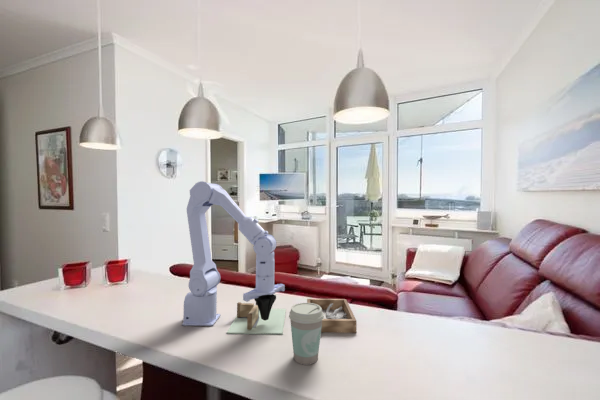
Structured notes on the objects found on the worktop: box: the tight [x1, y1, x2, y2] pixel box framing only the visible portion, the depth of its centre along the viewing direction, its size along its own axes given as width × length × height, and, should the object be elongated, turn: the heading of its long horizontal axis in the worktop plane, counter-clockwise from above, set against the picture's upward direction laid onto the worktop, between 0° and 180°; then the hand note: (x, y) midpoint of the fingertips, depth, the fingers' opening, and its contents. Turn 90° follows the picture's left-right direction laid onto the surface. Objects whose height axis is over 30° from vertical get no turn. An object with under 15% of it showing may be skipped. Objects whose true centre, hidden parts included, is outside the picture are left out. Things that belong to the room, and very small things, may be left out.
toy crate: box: [306, 298, 357, 334], centre depth 87 cm, size 14×18×4 cm
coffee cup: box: [288, 302, 325, 366], centre depth 65 cm, size 8×8×12 cm
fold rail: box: [247, 304, 258, 330], centre depth 82 cm, size 8×1×4 cm, turn 174°
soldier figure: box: [325, 303, 347, 319], centre depth 84 cm, size 8×5×12 cm
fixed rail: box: [236, 301, 259, 318], centre depth 87 cm, size 7×1×5 cm, turn 90°
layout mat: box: [226, 308, 287, 335], centre depth 86 cm, size 16×18×1 cm
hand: (264, 319), depth 82 cm, fingers closed
